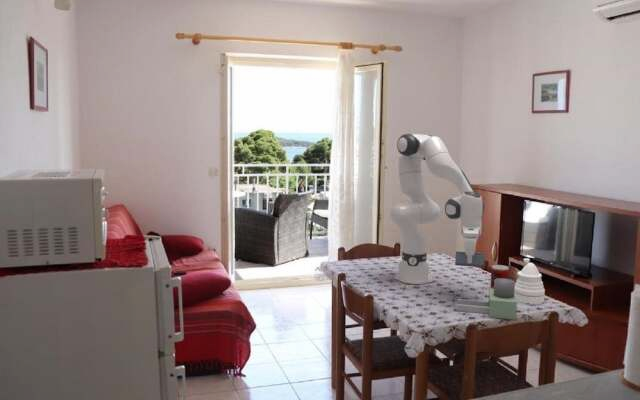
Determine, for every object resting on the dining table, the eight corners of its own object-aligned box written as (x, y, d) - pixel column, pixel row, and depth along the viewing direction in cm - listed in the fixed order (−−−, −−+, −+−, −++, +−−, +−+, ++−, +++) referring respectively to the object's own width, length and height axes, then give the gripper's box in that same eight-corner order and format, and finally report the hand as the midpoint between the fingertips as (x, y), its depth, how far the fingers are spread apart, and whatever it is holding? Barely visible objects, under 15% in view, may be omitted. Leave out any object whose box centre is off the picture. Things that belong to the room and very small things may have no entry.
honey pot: (507, 299, 244) (509, 259, 242) (521, 293, 253) (523, 255, 251) (536, 306, 235) (538, 265, 233) (549, 300, 244) (551, 260, 242)
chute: (455, 262, 245) (456, 251, 244) (483, 264, 242) (484, 253, 241) (455, 265, 240) (455, 253, 240) (484, 267, 237) (484, 255, 236)
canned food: (507, 288, 261) (508, 265, 260) (508, 293, 254) (509, 269, 252) (490, 286, 263) (491, 264, 262) (490, 291, 256) (491, 268, 254)
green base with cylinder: (457, 301, 241) (458, 272, 239) (513, 306, 234) (514, 276, 233) (455, 313, 224) (457, 282, 223) (515, 319, 218) (517, 287, 216)
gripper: (463, 225, 250) (462, 255, 252) (462, 233, 230) (461, 266, 232) (478, 226, 248) (477, 256, 250) (478, 234, 229) (477, 267, 230)
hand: (469, 261), depth 241 cm, fingers closed on chute, 5 cm apart
